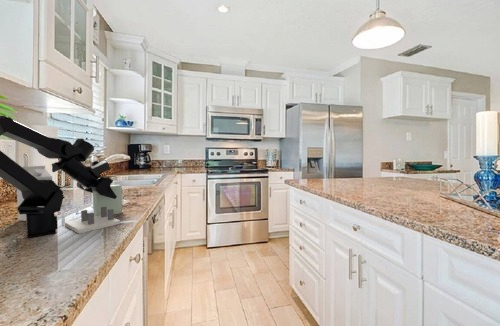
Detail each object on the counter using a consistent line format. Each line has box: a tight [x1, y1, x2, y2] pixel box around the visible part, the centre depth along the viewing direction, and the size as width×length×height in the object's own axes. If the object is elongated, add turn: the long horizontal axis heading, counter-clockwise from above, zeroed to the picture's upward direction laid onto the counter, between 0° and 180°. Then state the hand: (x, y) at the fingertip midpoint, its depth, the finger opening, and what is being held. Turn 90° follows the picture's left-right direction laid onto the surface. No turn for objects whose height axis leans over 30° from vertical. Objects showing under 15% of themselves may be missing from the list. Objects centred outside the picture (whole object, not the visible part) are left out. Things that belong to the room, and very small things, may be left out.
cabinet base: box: [64, 207, 121, 234], centre depth 81 cm, size 12×12×5 cm
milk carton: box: [16, 165, 53, 222], centre depth 88 cm, size 7×7×19 cm
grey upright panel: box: [92, 184, 123, 216], centre depth 94 cm, size 9×3×11 cm, turn 143°
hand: (111, 196), depth 95 cm, fingers open, 7 cm apart
